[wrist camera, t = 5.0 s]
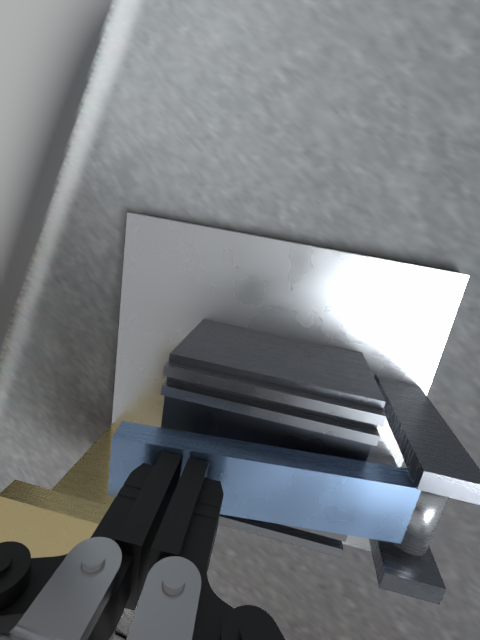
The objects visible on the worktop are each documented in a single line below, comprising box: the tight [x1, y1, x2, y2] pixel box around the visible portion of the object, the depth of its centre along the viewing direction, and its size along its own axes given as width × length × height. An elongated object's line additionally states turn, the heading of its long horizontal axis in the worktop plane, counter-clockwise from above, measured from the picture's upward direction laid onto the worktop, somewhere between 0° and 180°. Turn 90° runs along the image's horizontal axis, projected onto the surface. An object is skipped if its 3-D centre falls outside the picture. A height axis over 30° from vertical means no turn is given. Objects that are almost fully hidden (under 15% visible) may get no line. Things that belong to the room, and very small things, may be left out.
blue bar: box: [108, 421, 449, 556], centre depth 13 cm, size 12×3×1 cm, turn 80°
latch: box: [0, 425, 119, 558], centre depth 17 cm, size 4×5×8 cm
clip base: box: [112, 213, 480, 604], centre depth 16 cm, size 16×16×8 cm
